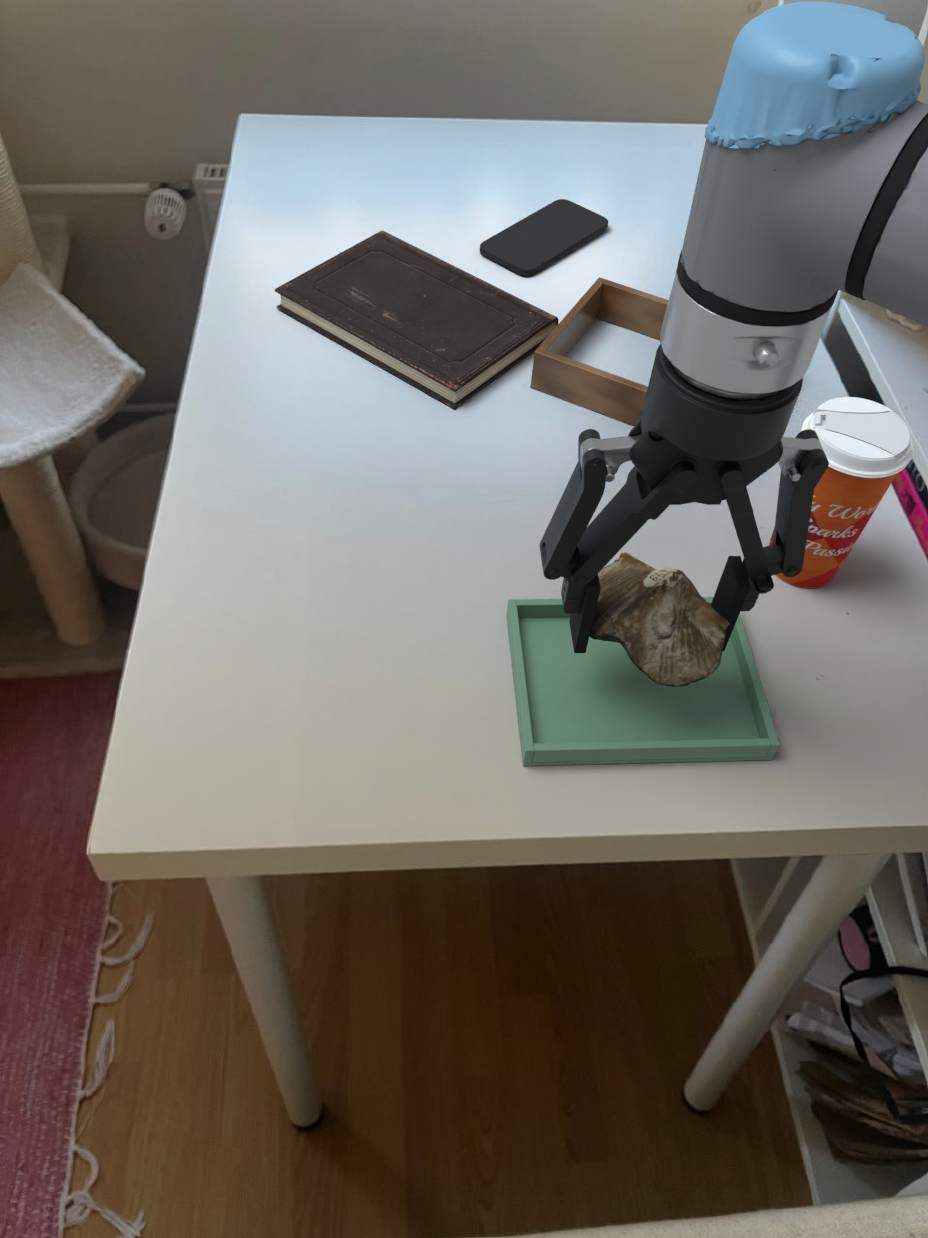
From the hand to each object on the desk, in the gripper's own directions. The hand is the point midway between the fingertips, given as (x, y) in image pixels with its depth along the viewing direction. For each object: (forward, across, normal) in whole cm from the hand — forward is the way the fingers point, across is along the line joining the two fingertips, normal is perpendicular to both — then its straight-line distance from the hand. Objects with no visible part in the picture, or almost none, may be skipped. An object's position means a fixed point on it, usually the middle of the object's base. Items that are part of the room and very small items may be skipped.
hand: (646, 636), depth 68 cm
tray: (+5, 0, 0) cm, 5 cm away
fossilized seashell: (0, 0, 0) cm, 0 cm away
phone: (+6, 0, +60) cm, 61 cm away
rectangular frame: (+6, +8, +35) cm, 37 cm away
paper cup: (+6, +16, +12) cm, 21 cm away
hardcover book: (+6, -14, +45) cm, 47 cm away
